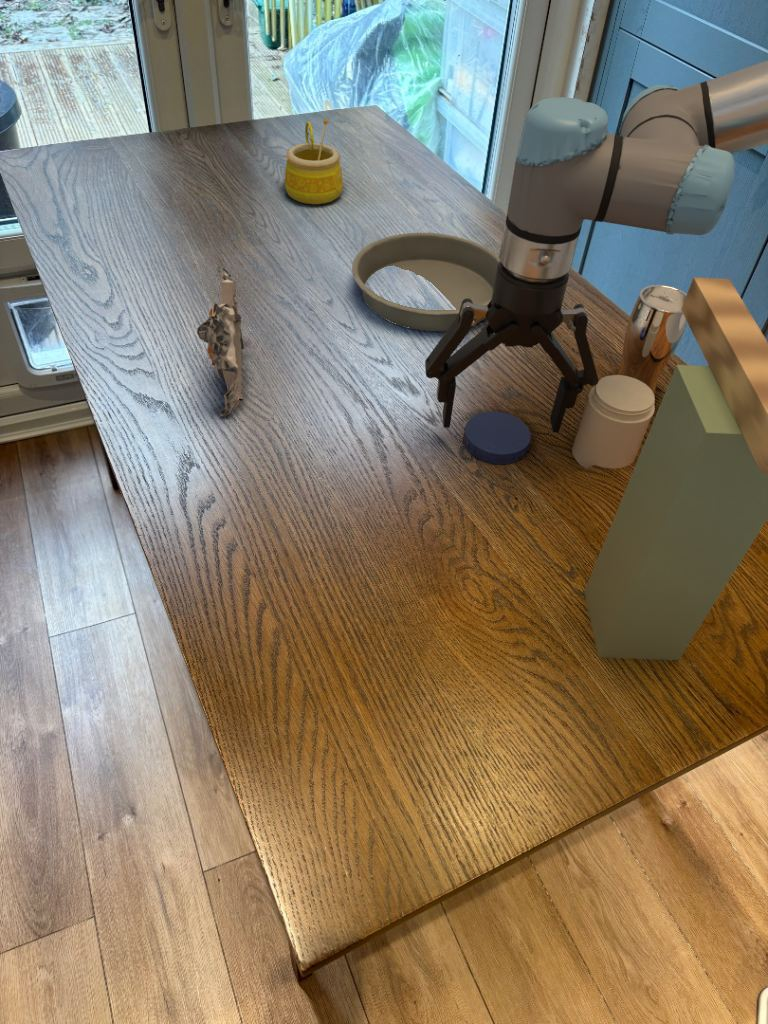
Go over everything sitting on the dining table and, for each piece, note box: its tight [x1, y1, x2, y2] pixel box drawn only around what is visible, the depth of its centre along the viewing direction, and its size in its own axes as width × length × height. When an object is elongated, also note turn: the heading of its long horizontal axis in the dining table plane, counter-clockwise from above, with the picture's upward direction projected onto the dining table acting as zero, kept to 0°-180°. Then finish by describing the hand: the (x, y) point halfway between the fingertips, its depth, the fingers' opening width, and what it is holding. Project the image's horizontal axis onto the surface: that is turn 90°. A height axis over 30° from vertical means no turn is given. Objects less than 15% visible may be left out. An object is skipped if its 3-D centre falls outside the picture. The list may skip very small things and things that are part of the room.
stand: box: [583, 364, 768, 661], centre depth 66 cm, size 8×8×30 cm
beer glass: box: [616, 284, 688, 396], centre depth 99 cm, size 7×7×15 cm
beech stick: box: [681, 276, 768, 474], centre depth 55 cm, size 20×3×3 cm, turn 0°
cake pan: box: [351, 232, 500, 332], centre depth 118 cm, size 25×25×4 cm
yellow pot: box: [284, 118, 344, 205], centre depth 138 cm, size 13×11×12 cm
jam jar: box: [571, 374, 656, 469], centre depth 92 cm, size 8×8×10 cm
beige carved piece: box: [196, 266, 244, 419], centre depth 96 cm, size 15×4×13 cm, turn 6°
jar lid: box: [462, 410, 532, 465], centre depth 95 cm, size 8×8×2 cm
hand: (500, 423), depth 94 cm, fingers open, 13 cm apart
